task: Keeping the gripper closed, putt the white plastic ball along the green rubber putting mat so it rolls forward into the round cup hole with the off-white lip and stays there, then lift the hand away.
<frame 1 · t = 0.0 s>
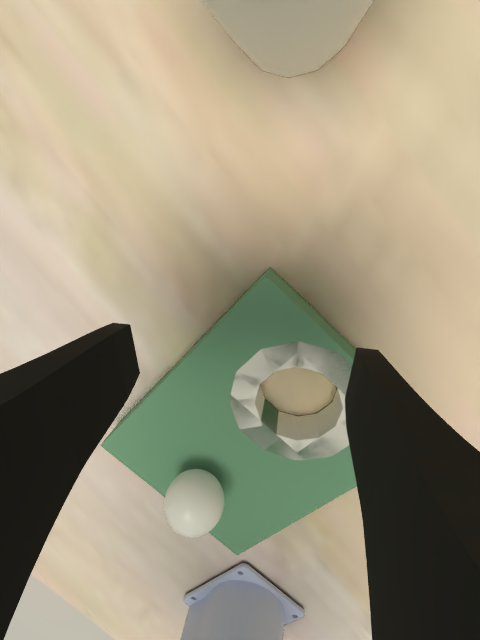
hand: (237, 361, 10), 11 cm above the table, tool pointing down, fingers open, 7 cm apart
putting mat: (253, 419, 24), on the table
ball: (194, 501, 22), point 4 cm above the table, touching putting mat
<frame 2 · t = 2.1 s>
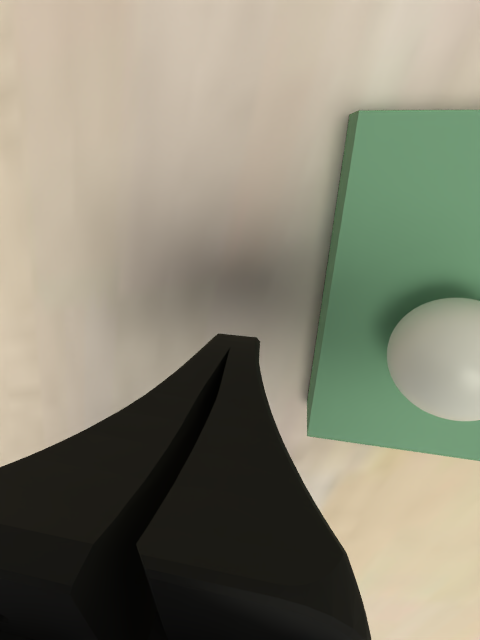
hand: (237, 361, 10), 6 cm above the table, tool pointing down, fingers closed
ball: (453, 358, 11), point 4 cm above the table, touching putting mat
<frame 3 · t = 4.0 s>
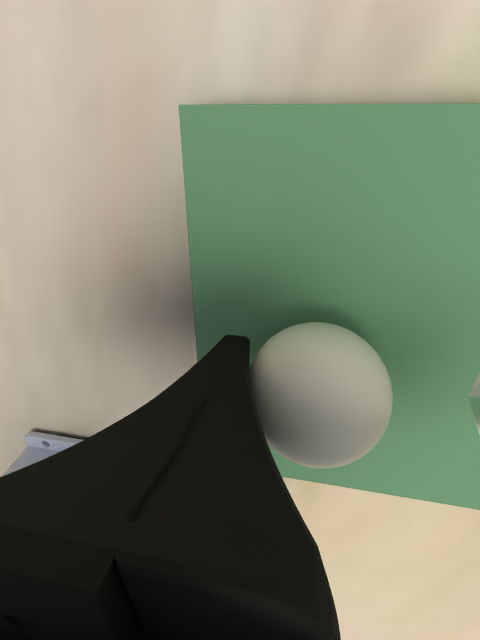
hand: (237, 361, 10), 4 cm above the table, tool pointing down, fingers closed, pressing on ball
putting mat: (441, 328, 12), on the table
ball: (315, 391, 9), point 4 cm above the table, touching gripper, putting mat
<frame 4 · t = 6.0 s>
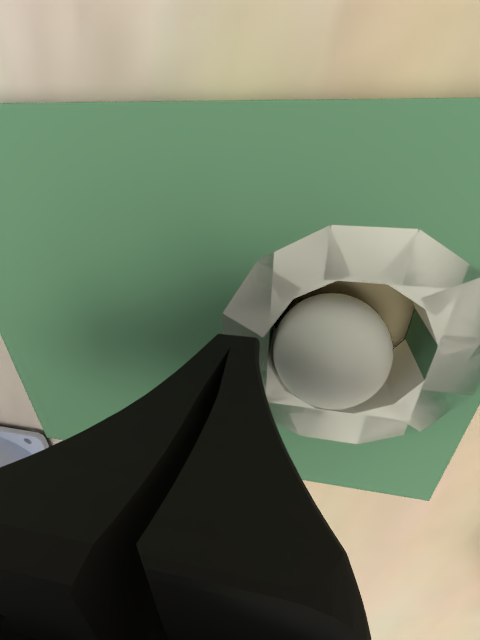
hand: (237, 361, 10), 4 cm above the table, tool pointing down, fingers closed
putting mat: (229, 307, 13), on the table
ball: (330, 350, 11), point 2 cm above the table, tilted 83°
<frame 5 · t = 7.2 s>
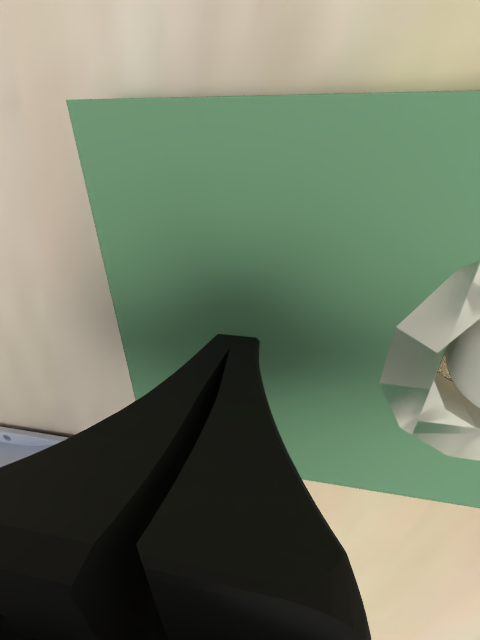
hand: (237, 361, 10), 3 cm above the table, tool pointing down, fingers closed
putting mat: (365, 317, 12), on the table
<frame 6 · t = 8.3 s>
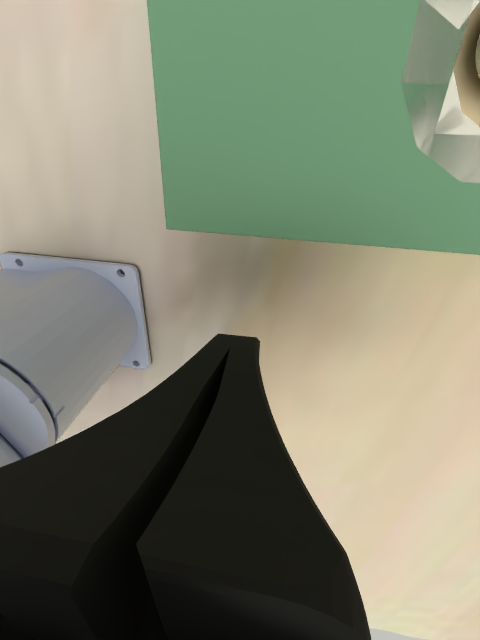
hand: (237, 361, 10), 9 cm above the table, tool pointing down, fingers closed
putting mat: (385, 57, 13), on the table
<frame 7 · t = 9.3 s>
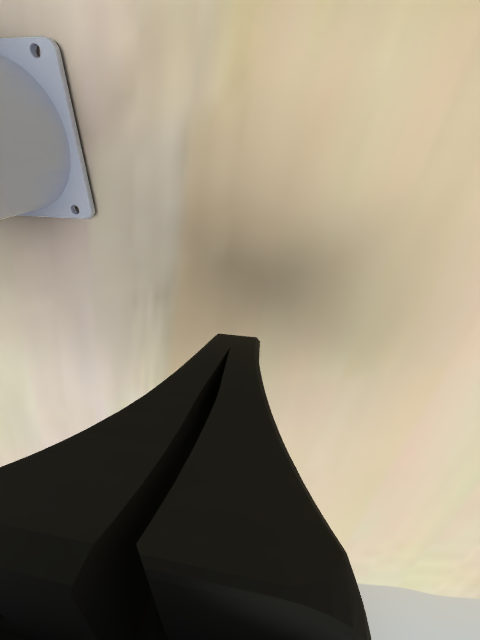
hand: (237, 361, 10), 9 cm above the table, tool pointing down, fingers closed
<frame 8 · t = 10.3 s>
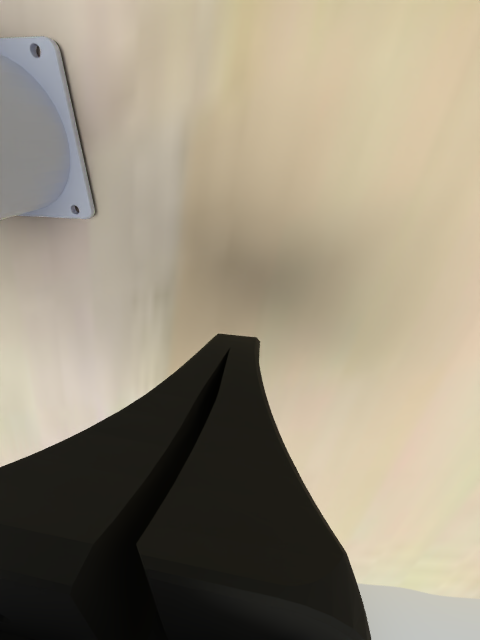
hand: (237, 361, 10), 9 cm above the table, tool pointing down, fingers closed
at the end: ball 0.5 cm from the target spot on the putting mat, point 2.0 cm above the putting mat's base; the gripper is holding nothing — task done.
